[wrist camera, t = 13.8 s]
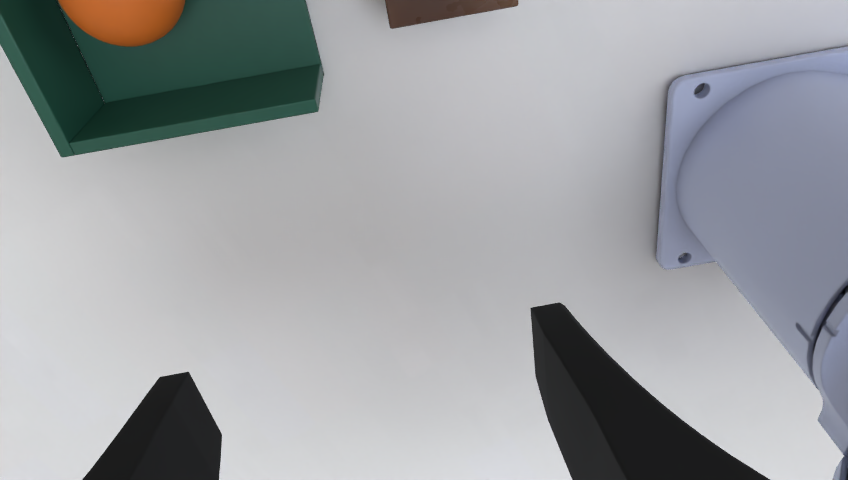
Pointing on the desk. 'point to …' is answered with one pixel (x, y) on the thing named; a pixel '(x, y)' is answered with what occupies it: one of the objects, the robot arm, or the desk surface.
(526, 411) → the desk surface
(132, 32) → the orange ball
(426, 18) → the brush
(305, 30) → the dustpan
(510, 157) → the desk surface
